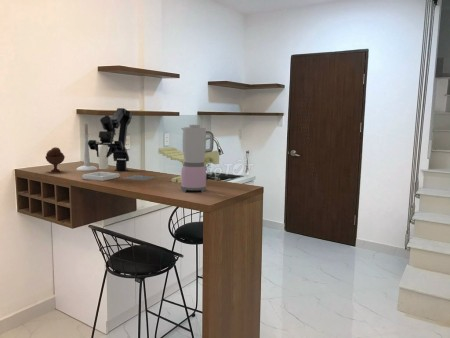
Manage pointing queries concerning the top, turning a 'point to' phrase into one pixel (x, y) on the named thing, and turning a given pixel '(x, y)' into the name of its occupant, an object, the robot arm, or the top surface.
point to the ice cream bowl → (55, 158)
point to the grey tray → (100, 176)
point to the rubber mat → (139, 177)
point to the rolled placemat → (103, 156)
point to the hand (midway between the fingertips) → (102, 156)
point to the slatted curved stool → (178, 155)
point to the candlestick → (86, 154)
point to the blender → (195, 157)
